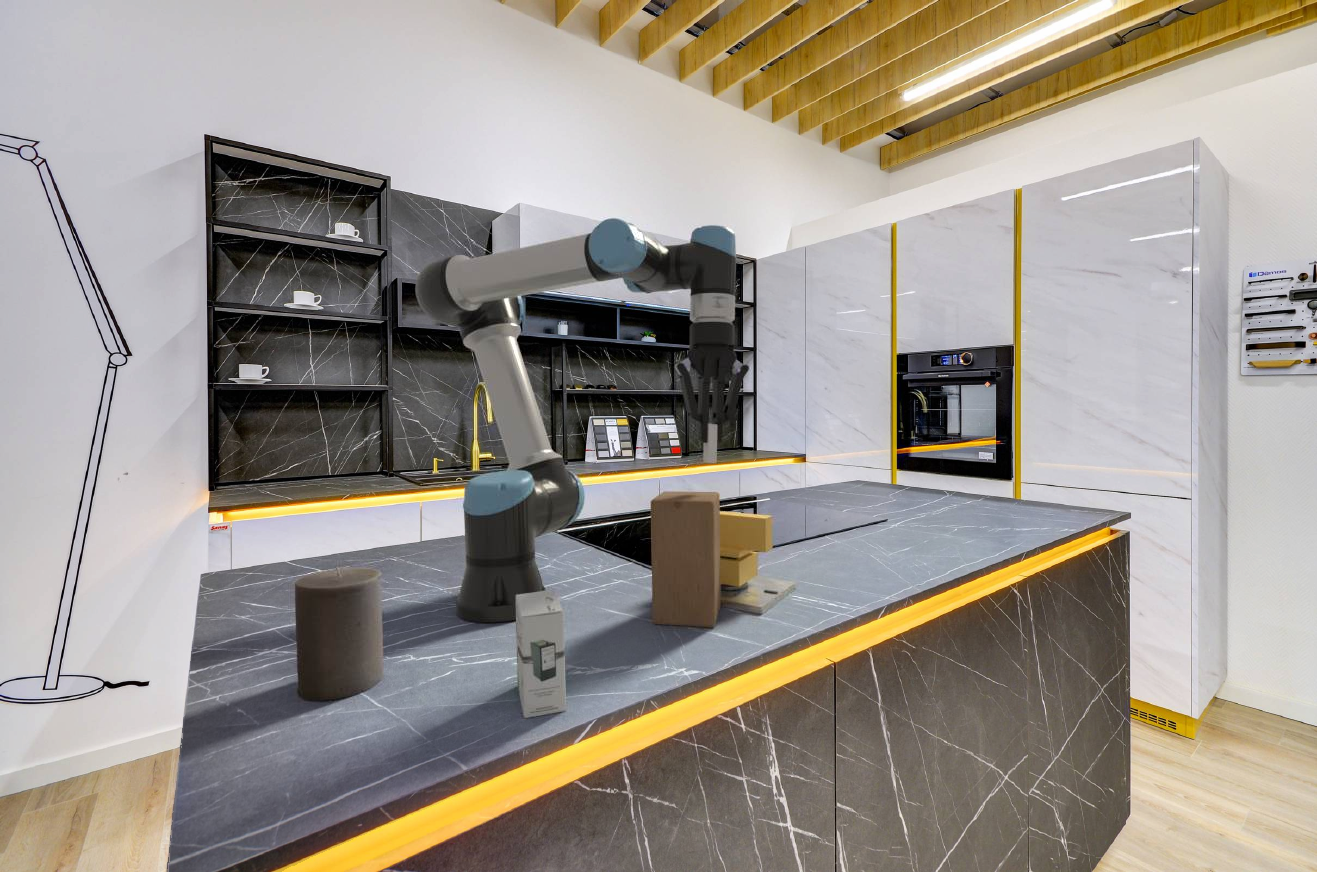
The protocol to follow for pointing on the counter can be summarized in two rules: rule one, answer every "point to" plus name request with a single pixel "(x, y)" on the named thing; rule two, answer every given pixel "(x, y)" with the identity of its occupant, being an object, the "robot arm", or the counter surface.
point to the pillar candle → (338, 633)
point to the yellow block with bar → (742, 545)
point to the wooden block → (685, 558)
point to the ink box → (540, 653)
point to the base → (755, 593)
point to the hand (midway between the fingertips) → (709, 462)
